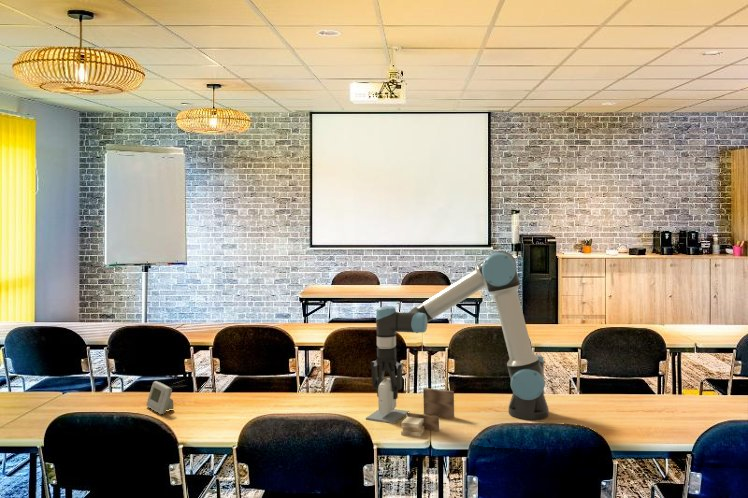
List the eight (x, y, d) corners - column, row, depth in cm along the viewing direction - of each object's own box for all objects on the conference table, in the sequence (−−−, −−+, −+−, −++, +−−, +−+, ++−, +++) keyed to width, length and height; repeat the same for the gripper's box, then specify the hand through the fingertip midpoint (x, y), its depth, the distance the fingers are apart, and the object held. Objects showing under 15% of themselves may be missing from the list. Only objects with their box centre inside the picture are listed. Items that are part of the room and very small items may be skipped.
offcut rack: (454, 416, 235) (453, 391, 235) (438, 431, 220) (437, 403, 219) (425, 413, 241) (424, 387, 240) (407, 426, 225) (407, 400, 225)
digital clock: (145, 406, 257) (144, 381, 256) (168, 403, 261) (167, 378, 260) (152, 417, 242) (151, 391, 242) (175, 413, 247) (174, 387, 246)
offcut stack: (425, 430, 222) (424, 417, 222) (421, 437, 215) (420, 424, 215) (405, 428, 224) (404, 416, 224) (400, 435, 217) (400, 423, 217)
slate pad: (409, 412, 242) (409, 411, 241) (394, 423, 229) (394, 421, 229) (381, 408, 247) (381, 407, 247) (365, 419, 234) (365, 417, 234)
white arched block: (387, 415, 232) (386, 382, 232) (377, 413, 234) (376, 381, 233) (397, 407, 242) (397, 376, 241) (387, 406, 243) (387, 375, 243)
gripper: (411, 346, 236) (412, 406, 237) (370, 343, 244) (372, 400, 245) (403, 350, 229) (404, 411, 231) (362, 346, 237) (363, 406, 238)
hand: (387, 406), depth 238 cm, fingers closed on white arched block, 4 cm apart
